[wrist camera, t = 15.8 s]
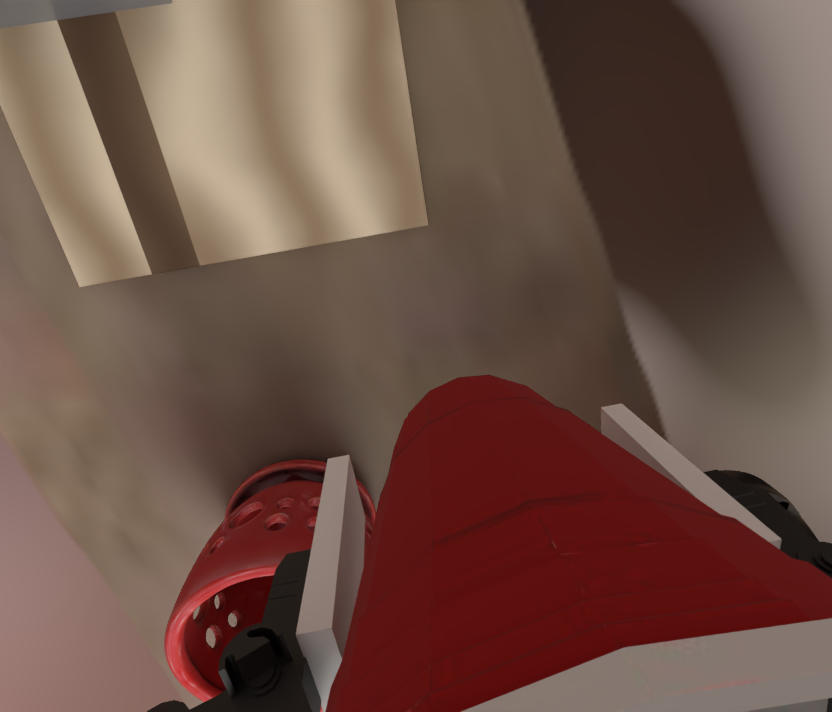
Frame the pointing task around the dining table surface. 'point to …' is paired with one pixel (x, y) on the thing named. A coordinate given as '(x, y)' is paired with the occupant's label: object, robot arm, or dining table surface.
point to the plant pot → (245, 566)
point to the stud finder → (63, 9)
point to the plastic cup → (567, 579)
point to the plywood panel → (213, 130)
